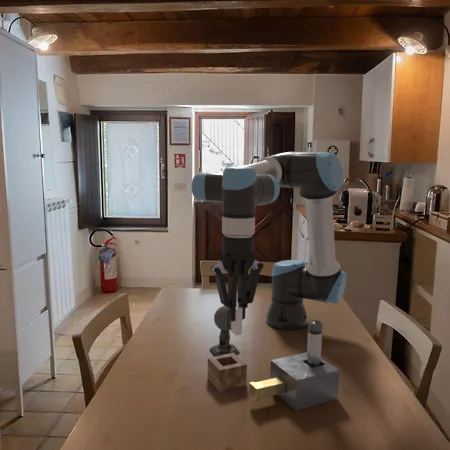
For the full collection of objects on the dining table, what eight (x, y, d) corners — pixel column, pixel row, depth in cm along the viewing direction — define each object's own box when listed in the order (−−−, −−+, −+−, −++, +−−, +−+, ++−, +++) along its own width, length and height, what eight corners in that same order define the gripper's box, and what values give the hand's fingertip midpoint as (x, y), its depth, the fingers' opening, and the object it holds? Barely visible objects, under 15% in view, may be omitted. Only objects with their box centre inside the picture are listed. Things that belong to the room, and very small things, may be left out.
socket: (269, 388, 123) (270, 360, 122) (309, 378, 128) (310, 351, 127) (295, 410, 112) (296, 380, 111) (337, 399, 118) (339, 369, 117)
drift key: (249, 394, 115) (249, 382, 114) (280, 386, 119) (280, 375, 118) (256, 401, 112) (256, 388, 111) (287, 393, 116) (288, 381, 115)
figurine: (237, 359, 140) (238, 312, 138) (206, 355, 142) (206, 309, 140) (242, 347, 148) (242, 303, 146) (212, 344, 150) (212, 300, 148)
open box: (233, 372, 131) (233, 352, 130) (246, 385, 124) (246, 364, 123) (207, 378, 128) (207, 357, 127) (219, 391, 121) (219, 370, 120)
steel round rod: (313, 382, 124) (316, 319, 121) (322, 389, 121) (325, 324, 118) (302, 385, 122) (305, 321, 119) (311, 392, 119) (313, 326, 116)
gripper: (254, 230, 111) (252, 323, 115) (205, 234, 105) (204, 331, 109) (271, 235, 104) (268, 334, 108) (219, 239, 99) (218, 343, 102)
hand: (236, 332), depth 108 cm, fingers closed
